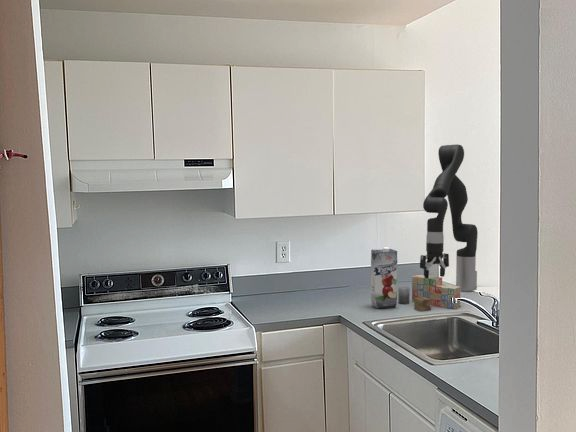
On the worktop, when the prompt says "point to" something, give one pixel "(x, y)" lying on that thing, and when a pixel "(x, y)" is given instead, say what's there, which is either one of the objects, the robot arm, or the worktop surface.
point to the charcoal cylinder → (403, 295)
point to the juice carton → (384, 278)
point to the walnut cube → (422, 304)
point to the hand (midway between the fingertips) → (434, 277)
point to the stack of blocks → (435, 291)
